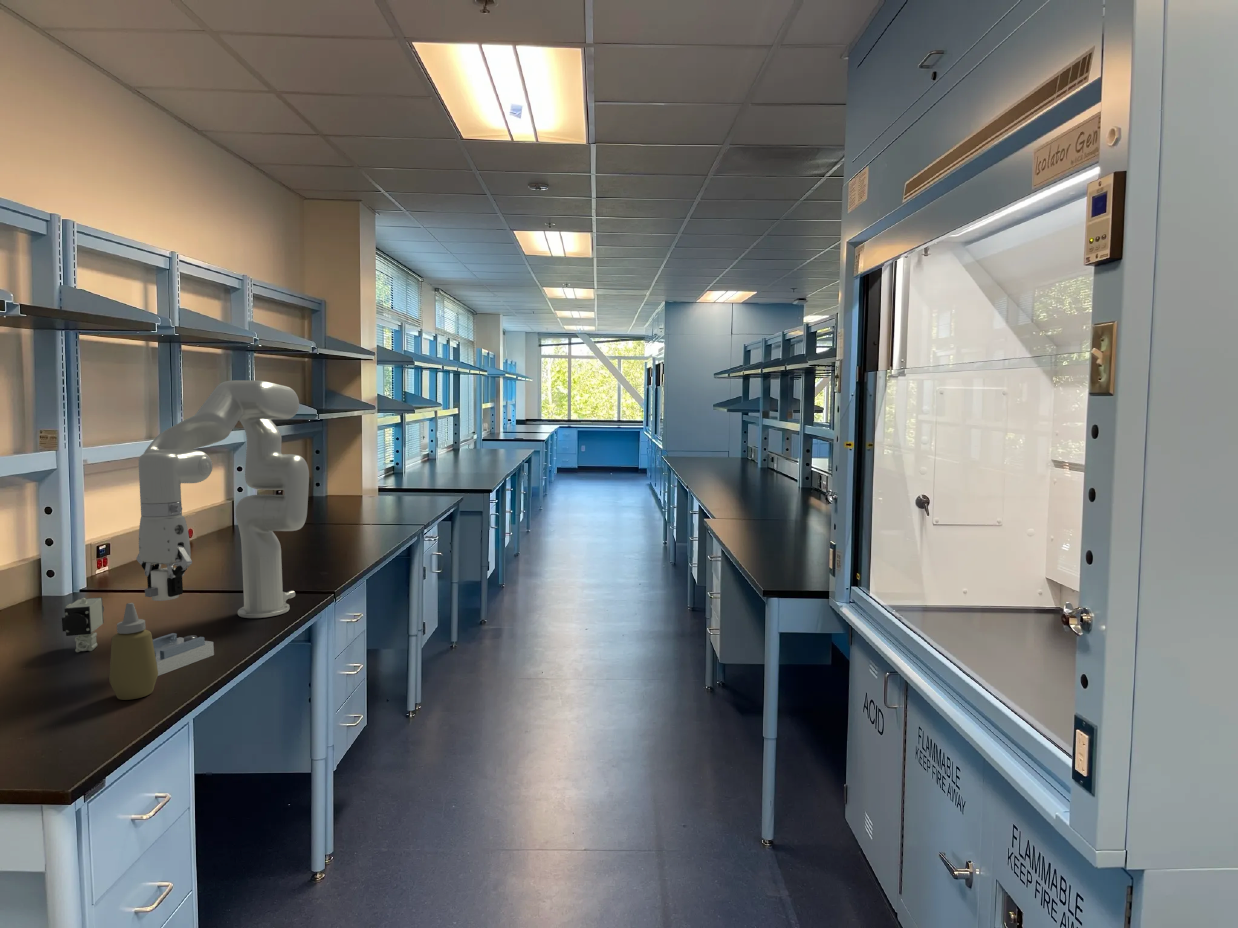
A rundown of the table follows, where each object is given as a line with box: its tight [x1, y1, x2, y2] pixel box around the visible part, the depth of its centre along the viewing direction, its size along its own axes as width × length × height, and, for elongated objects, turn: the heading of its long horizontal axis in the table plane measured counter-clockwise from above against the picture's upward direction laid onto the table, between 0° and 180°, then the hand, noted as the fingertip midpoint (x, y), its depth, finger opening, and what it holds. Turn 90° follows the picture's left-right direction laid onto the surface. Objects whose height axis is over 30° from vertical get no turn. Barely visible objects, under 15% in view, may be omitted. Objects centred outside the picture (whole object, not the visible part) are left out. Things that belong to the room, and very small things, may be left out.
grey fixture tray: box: [152, 632, 215, 677], centre depth 167 cm, size 14×10×5 cm
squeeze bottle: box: [108, 602, 159, 701], centre depth 148 cm, size 8×8×18 cm
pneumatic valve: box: [61, 596, 105, 653], centre depth 176 cm, size 6×12×12 cm, turn 18°
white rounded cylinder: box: [144, 567, 180, 602], centre depth 165 cm, size 7×5×6 cm
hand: (165, 593), depth 166 cm, fingers closed on white rounded cylinder, 5 cm apart
